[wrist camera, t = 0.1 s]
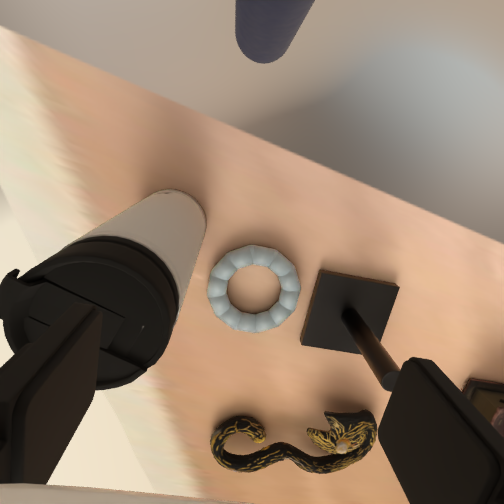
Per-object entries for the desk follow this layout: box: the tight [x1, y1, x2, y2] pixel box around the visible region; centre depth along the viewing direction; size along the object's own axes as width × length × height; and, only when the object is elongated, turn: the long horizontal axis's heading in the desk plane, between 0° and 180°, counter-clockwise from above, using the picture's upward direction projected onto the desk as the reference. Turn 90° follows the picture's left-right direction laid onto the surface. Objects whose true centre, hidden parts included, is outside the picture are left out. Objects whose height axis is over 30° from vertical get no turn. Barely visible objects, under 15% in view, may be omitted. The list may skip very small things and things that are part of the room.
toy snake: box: [210, 409, 377, 474], centre depth 38 cm, size 18×5×10 cm
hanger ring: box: [207, 245, 301, 333], centre depth 34 cm, size 9×9×2 cm
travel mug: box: [0, 189, 206, 390], centre depth 23 cm, size 6×7×20 cm
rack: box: [300, 270, 400, 392], centre depth 31 cm, size 8×8×11 cm
